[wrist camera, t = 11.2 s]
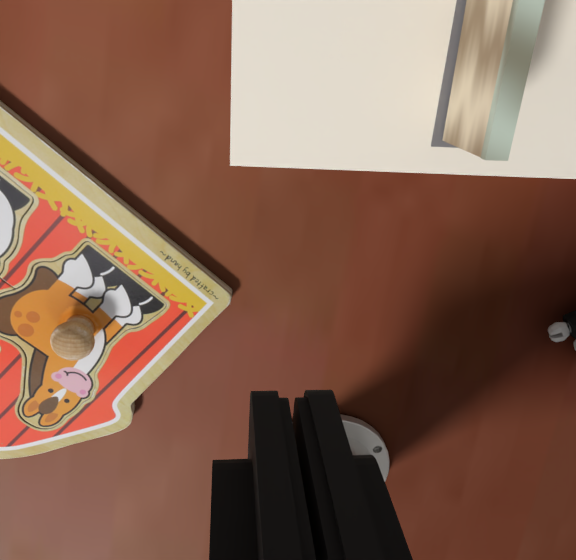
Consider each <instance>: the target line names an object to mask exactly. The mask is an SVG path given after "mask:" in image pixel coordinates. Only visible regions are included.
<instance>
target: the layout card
mask: <svg viewBox="0 0 576 560" xmlns="http://www.w3.org/2000/svg"><path fill="white" fill-rule="evenodd" d="M466 1H467V0H232V59H231V129H230V166H254V167H280V168H305V169H331V170H357V171H383V172H408V173H434V174H460V175H486V176H511V177H537V178H563V179H576V0H545V3H544V7H543V11H542V16H541V20H540V24H539V29H538V33H537V37H536V42H535V46H534V50H533V55H532V59H531V63H530V68H529V72H528V76H527V81H526V85H525V89H524V94H523V98H522V102H521V107H520V111H519V115H518V120H517V124H516V128H515V133H514V137H513V141H512V146H511V150H510V154H509V159H508V161H494V160H483V159H481V158H480V157H478V156H476V155H474V154H471V153H469V152H467V151H465V150H463V149H460V148H458V147H456V146H454V145H451V144H449V143H447V142H445V141H442V140H443V134H444V128H445V122H446V117H447V111H448V105H449V99H450V94H451V88H452V82H453V76H454V70H455V65H456V59H457V53H458V47H459V42H460V36H461V30H462V24H463V18H464V13H465V7H466Z"/></svg>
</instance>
